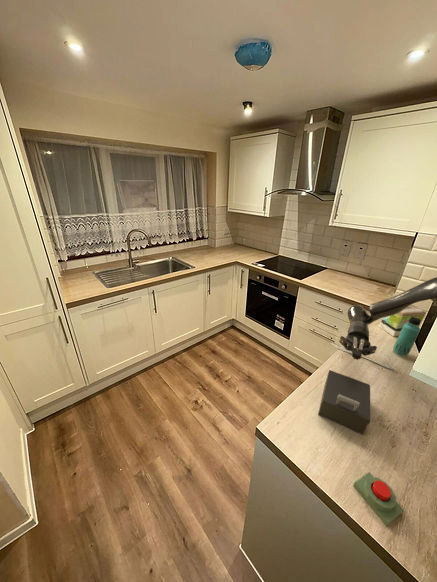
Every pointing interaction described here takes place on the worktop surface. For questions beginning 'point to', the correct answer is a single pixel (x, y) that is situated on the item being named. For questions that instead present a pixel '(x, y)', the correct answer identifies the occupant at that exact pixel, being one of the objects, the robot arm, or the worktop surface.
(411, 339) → the beverage bottle
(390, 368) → the butter knife
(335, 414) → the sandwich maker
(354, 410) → the sandwich lid
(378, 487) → the button
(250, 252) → the worktop surface
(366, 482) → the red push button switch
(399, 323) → the tea box
